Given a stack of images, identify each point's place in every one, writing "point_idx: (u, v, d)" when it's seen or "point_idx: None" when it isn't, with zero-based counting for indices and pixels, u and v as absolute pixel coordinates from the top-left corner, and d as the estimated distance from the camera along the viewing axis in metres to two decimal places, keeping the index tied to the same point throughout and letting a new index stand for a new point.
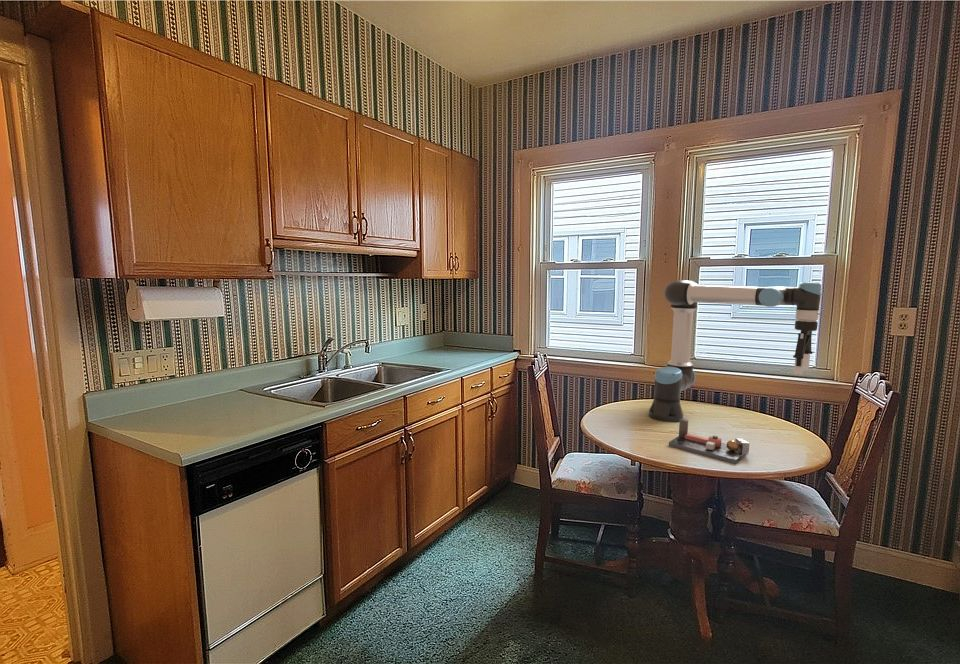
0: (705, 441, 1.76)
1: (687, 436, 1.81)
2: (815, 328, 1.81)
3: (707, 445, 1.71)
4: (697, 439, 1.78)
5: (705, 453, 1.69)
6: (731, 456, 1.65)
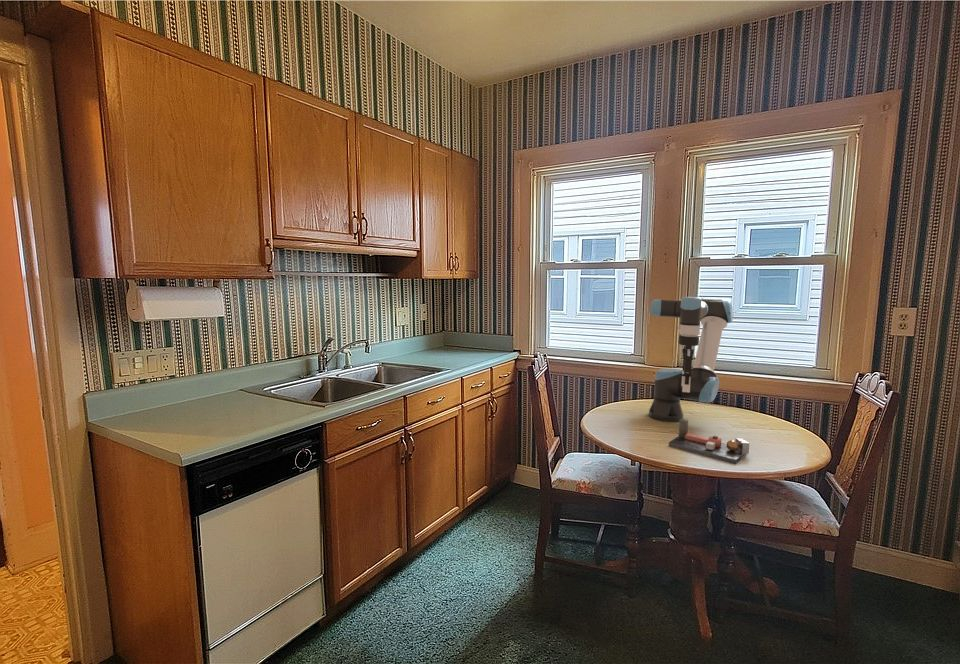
0: (705, 441, 1.76)
1: (687, 436, 1.81)
2: None
3: (707, 445, 1.71)
4: (697, 439, 1.78)
5: (705, 453, 1.69)
6: (731, 456, 1.65)
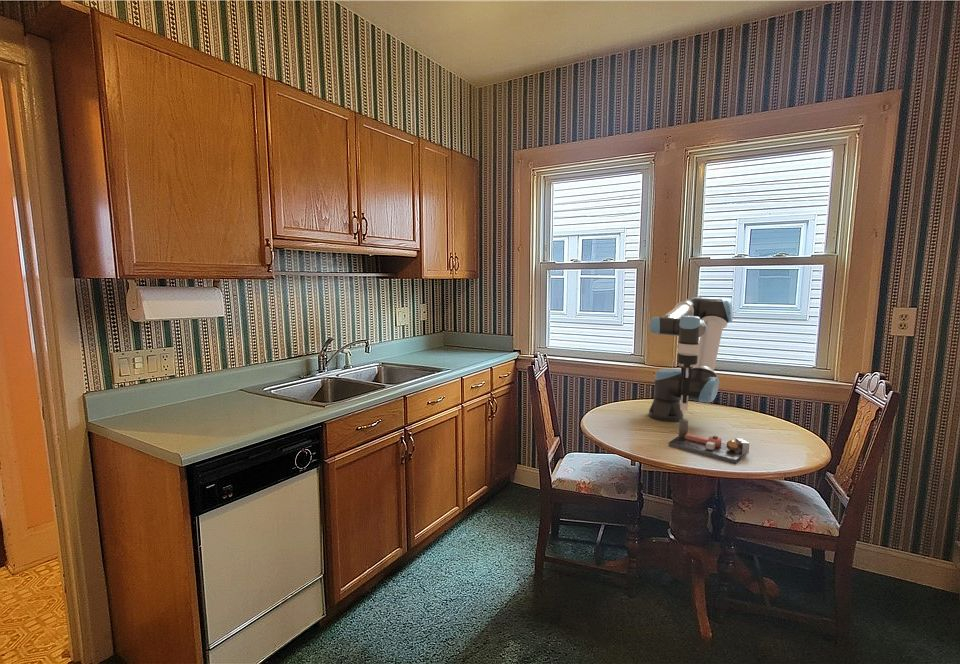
0: (705, 441, 1.76)
1: (687, 436, 1.81)
2: None
3: (707, 445, 1.71)
4: (697, 439, 1.78)
5: (705, 453, 1.69)
6: (731, 456, 1.65)
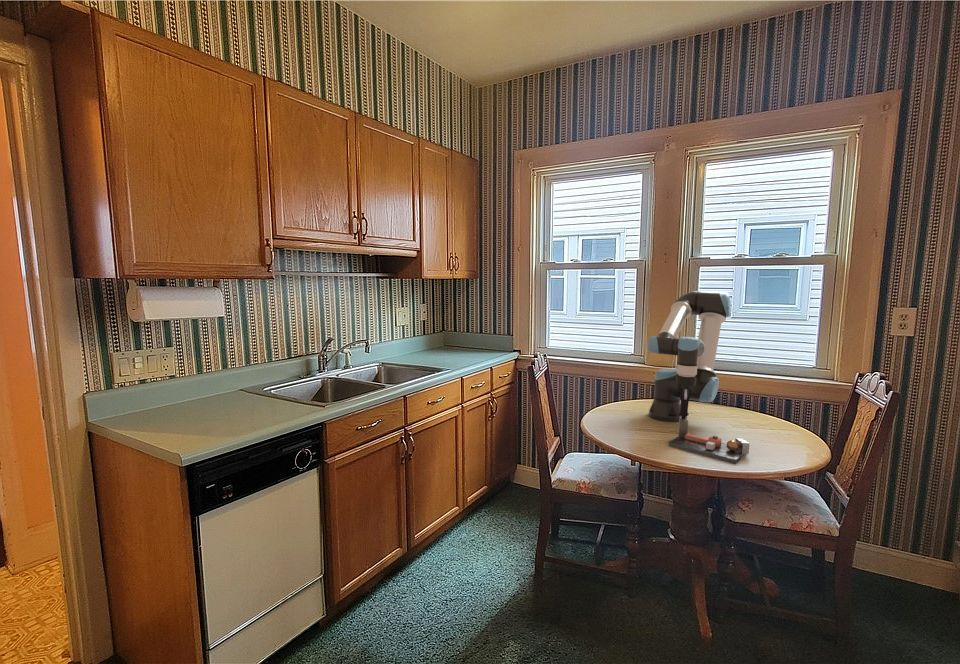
0: (705, 441, 1.76)
1: (687, 436, 1.81)
2: None
3: (707, 445, 1.71)
4: (697, 439, 1.78)
5: (705, 453, 1.69)
6: (731, 456, 1.65)
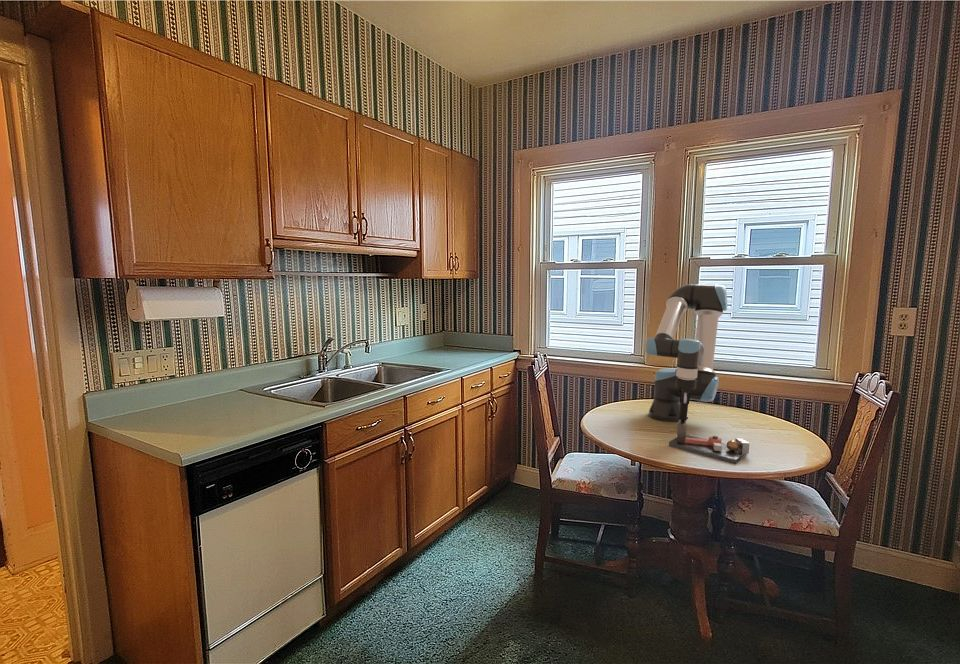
0: (706, 442, 1.75)
1: (687, 440, 1.77)
2: None
3: (716, 447, 1.69)
4: (698, 442, 1.75)
5: (705, 453, 1.69)
6: (731, 456, 1.65)
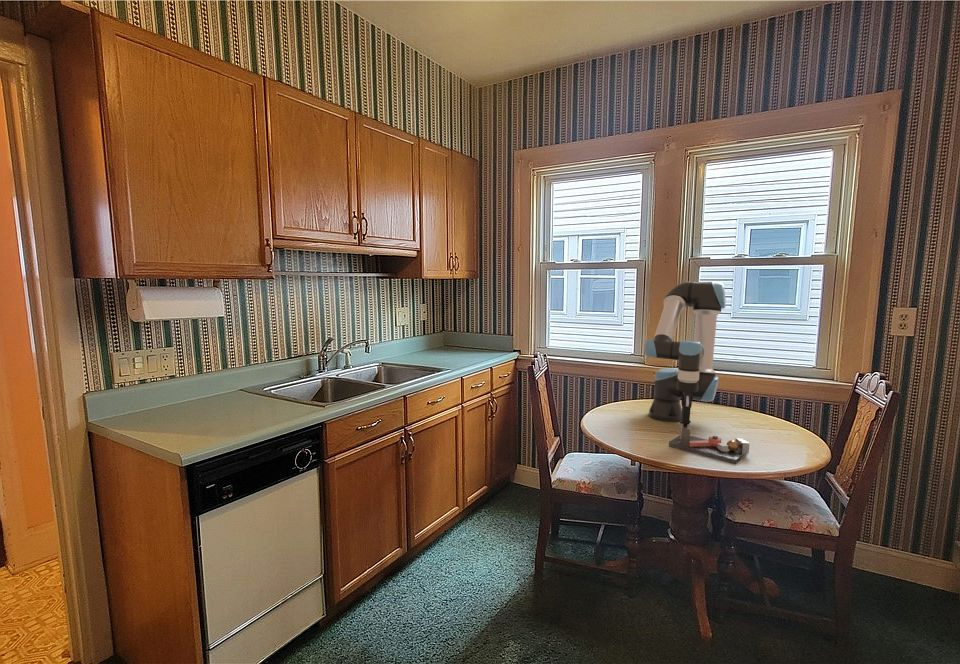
0: (709, 444, 1.73)
1: (692, 444, 1.73)
2: None
3: (723, 447, 1.68)
4: (701, 444, 1.73)
5: (705, 453, 1.69)
6: (731, 456, 1.65)
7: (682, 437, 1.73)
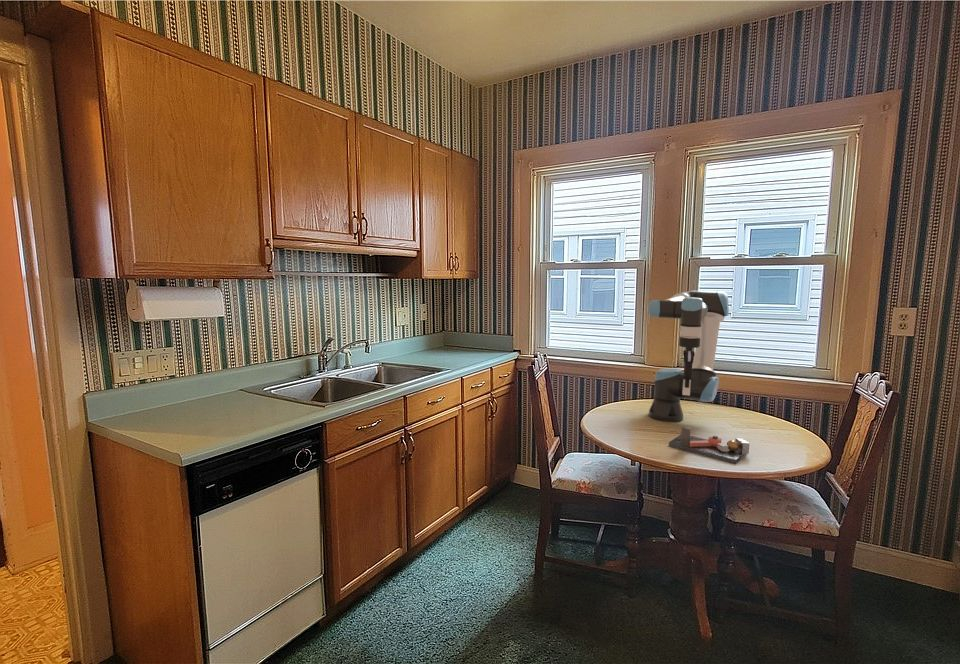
0: (709, 444, 1.73)
1: (692, 444, 1.73)
2: None
3: (723, 447, 1.68)
4: (701, 444, 1.73)
5: (705, 453, 1.69)
6: (731, 456, 1.65)
7: (682, 437, 1.73)
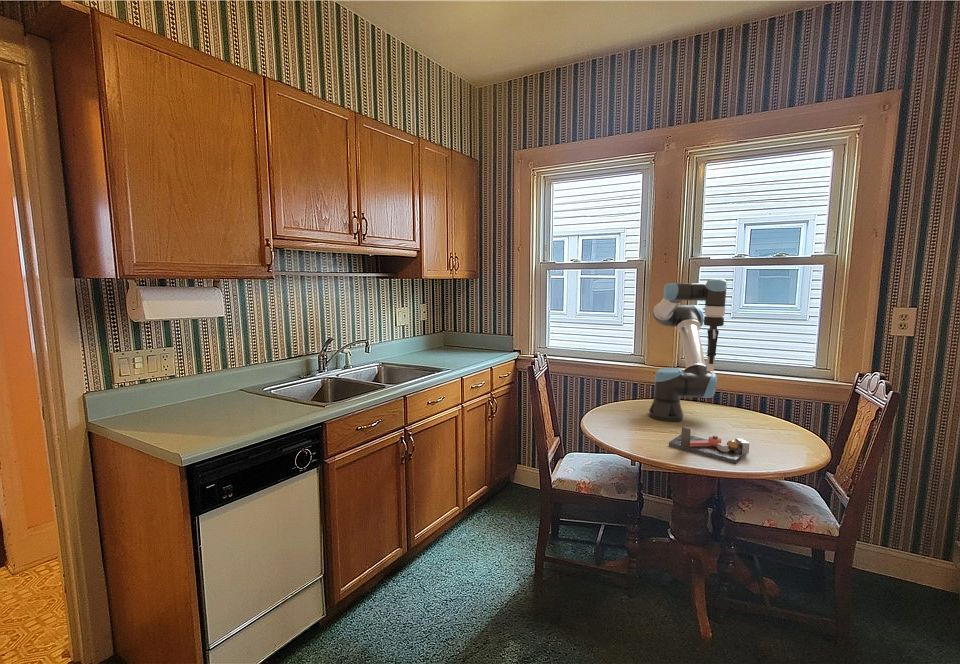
0: (709, 444, 1.73)
1: (692, 444, 1.73)
2: None
3: (723, 447, 1.68)
4: (701, 444, 1.73)
5: (705, 453, 1.69)
6: (731, 456, 1.65)
7: (682, 437, 1.73)
